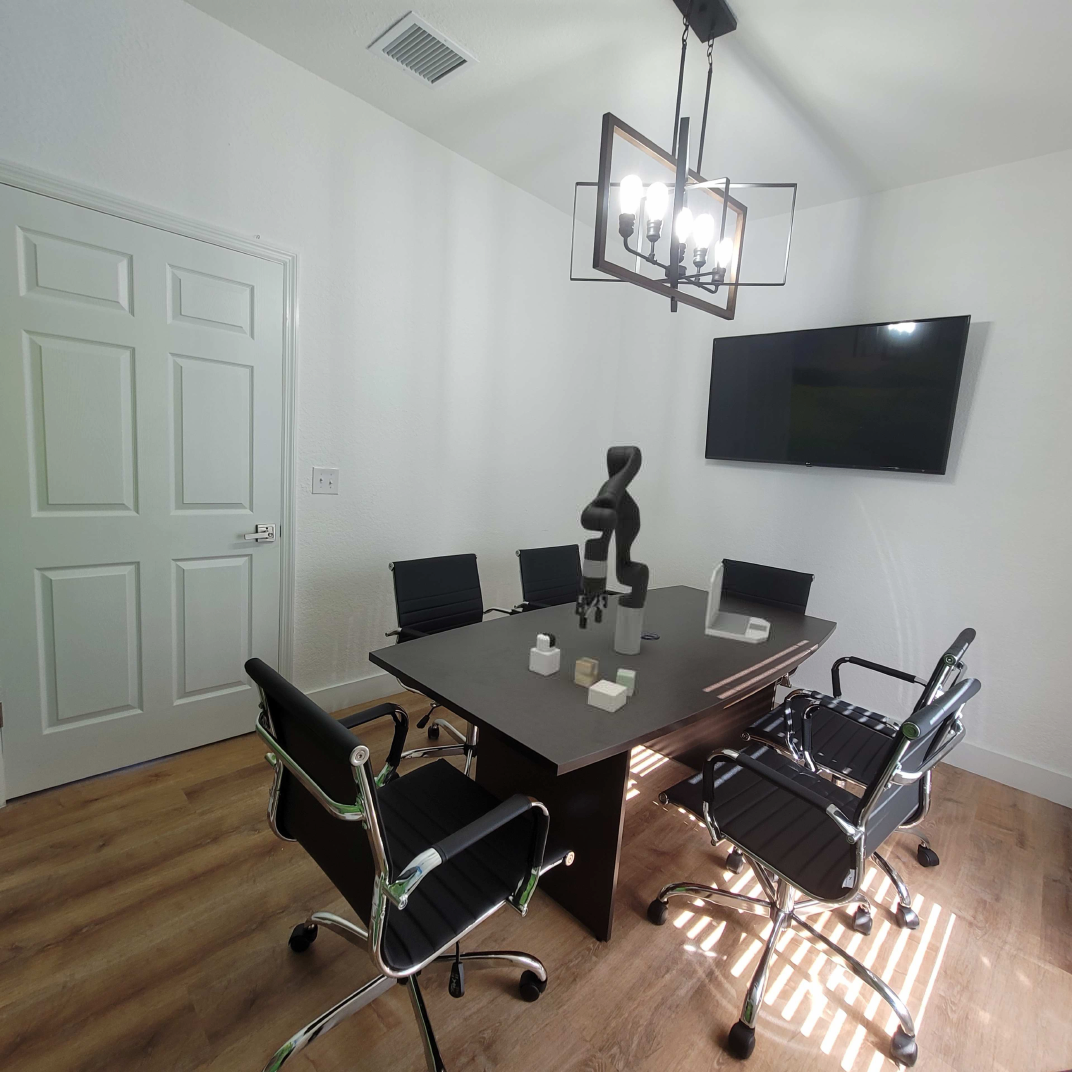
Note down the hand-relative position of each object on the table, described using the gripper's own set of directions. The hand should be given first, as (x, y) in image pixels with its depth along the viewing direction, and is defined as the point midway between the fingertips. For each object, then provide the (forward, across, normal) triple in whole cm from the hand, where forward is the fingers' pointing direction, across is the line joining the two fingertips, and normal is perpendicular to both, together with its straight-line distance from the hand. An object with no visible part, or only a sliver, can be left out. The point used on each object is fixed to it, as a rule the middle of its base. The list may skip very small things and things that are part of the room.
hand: (590, 625), depth 166 cm
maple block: (+19, 0, 0) cm, 19 cm away
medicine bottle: (+19, +2, -15) cm, 24 cm away
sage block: (+19, -4, +12) cm, 22 cm away
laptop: (+20, -99, +15) cm, 102 cm away
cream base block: (+19, +7, +12) cm, 23 cm away
